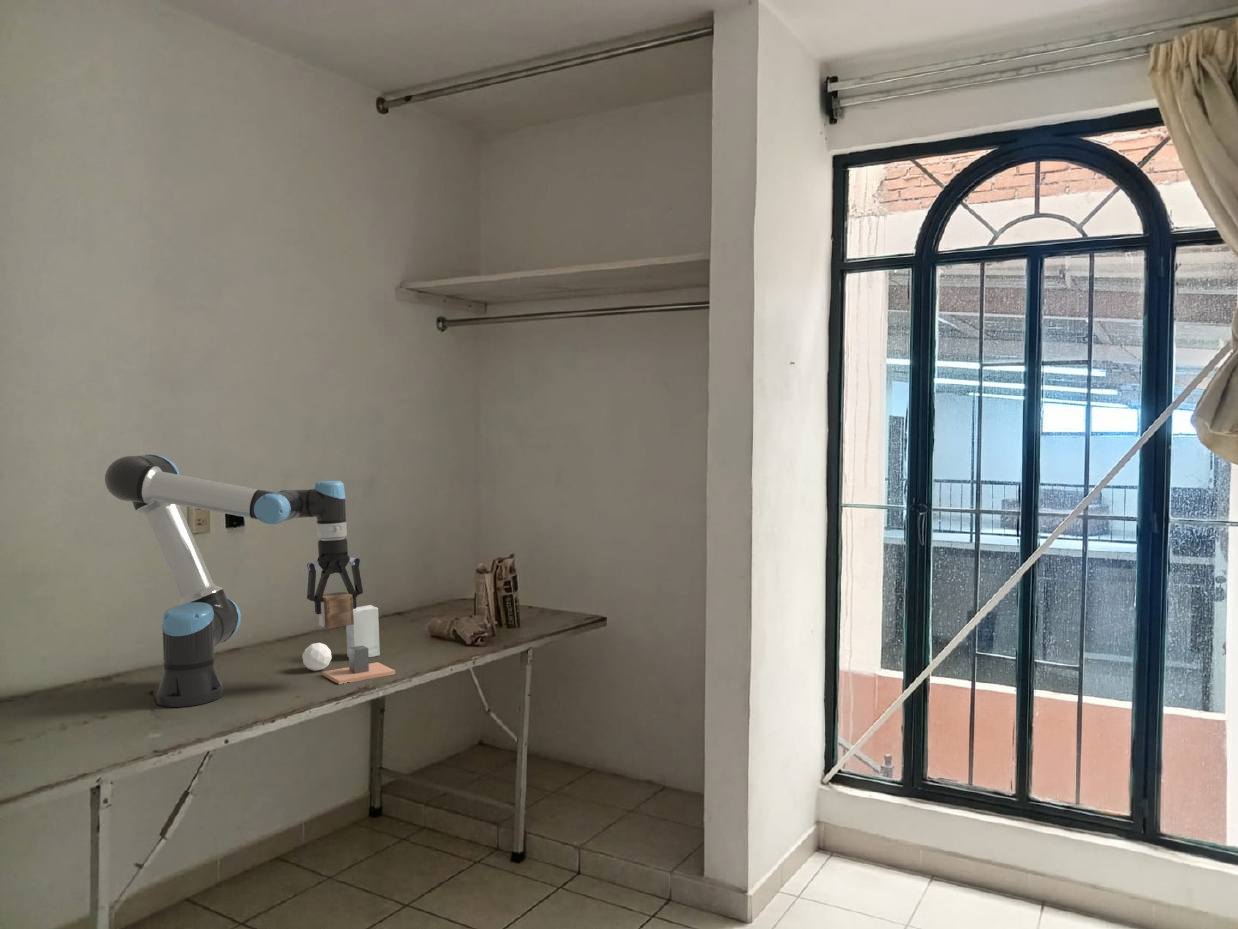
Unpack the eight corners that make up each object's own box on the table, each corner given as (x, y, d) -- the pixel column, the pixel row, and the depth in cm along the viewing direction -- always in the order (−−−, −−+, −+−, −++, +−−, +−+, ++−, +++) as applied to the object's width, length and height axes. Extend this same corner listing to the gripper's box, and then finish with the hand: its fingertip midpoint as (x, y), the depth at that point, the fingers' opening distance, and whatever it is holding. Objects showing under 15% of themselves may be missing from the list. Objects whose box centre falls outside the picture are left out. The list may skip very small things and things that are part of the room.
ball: (310, 679, 257) (301, 654, 260) (338, 666, 259) (328, 642, 262) (305, 672, 250) (295, 646, 253) (333, 659, 253) (323, 634, 256)
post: (354, 673, 248) (354, 650, 247) (349, 670, 251) (348, 647, 251) (368, 671, 250) (368, 648, 250) (363, 668, 253) (362, 645, 253)
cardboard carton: (327, 628, 238) (326, 598, 238) (319, 624, 244) (317, 595, 243) (353, 624, 242) (352, 594, 242) (344, 620, 248) (343, 591, 247)
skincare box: (372, 652, 276) (371, 604, 275) (380, 656, 271) (379, 607, 271) (345, 657, 271) (344, 607, 270) (353, 661, 266) (352, 610, 266)
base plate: (339, 684, 241) (338, 680, 241) (322, 675, 250) (322, 671, 250) (395, 674, 251) (395, 670, 251) (377, 665, 260) (377, 662, 260)
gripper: (298, 543, 233) (303, 631, 234) (373, 535, 245) (377, 620, 246) (290, 541, 239) (294, 627, 240) (363, 534, 251) (367, 616, 252)
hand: (336, 623), depth 243 cm, fingers closed on cardboard carton, 7 cm apart
